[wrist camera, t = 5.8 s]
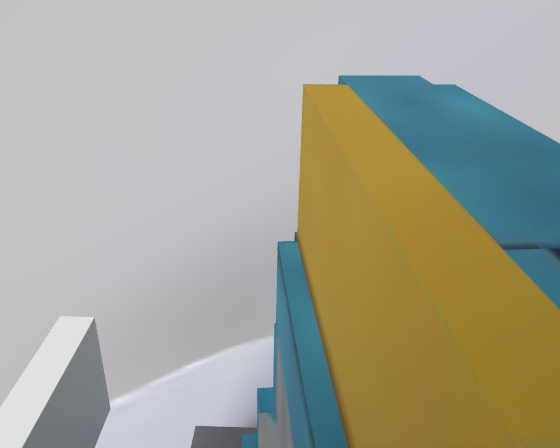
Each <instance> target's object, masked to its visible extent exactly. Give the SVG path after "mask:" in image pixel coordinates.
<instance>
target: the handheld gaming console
mask: <svg viewBox="0 0 560 448" xmlns="http://www.w3.org/2000/svg"><path fill="white" fill-rule="evenodd" d="M276 309H277V310H276V323H275V324H274V325H275V326H274V330H275V331H274V377H273V388H257V434H244V435H242V448H560V144H559V143H558V142H556V141H554V140H552V139H550V138H549V137H547V136H545V135H543V134H542V133H540V132H538V131H536V130H535V129H533V128H531V127H529V126H527V125H526V124H524V123H522V122H520V121H518V120H517V119H515V118H513V117H511V116H510V115H508V114H506V113H504V112H502V111H501V110H499V109H497V108H495V107H493V106H491V105H490V104H488V103H486V102H485V101H483V100H481V99H479V98H477V97H476V96H474V95H472V94H470V93H468V92H467V91H465V90H463V89H461V88H460V87H458V86H456V85H433V84H431V83H430V82H428V81H427V80H425V79H423V78H422V77H420V76H339V81H338V85H324V84H319V85H318V84H317V85H315V84H314V85H312V84H308V85H307V84H306V85H303V105H302V130H301V156H300V180H299V207H298V231H297V232H295V241H291V242H290V241H287V242H286V241H285V242H278V258H277V306H276Z"/></svg>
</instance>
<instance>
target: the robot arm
mask: <svg viewBox="0 0 560 448" xmlns="http://www.w3.org/2000/svg"><path fill="white" fill-rule="evenodd" d="M109 411H110V403H109V398H108V392H107V386H106V381H105V375H104V369H103V363H102V358H101V352H100V346H99V341H98V335H97V329H96V323H95V318H93V317H67V316H60V317H59V319H58V320H57V322H56V323H55V325H54V326H53V328H52V329H51V331H50V332H49V334H48V335H47V337H46V338H45V340H44V342H43V343H42V345H41V346H40V348H39V349H38V351H37V352H36V354H35V355H34V357H33V358H32V360H31V361H30V363H29V365H28V366H27V368H26V369H25V371H24V372H23V374H22V375H21V377H20V378H19V380H18V381H17V383H16V385H15V386H14V387H13V389H12V390H11V392H10V393H9V395H8V397H7V398H6V400H5V401H4V403H3V404H2V406H1V407H0V448H94V447H95V445H96V442H97V440H98V438H99V435H100V433H101V430H102V428H103V425H104V423H105V420H106V418H107V416H108V413H109Z"/></svg>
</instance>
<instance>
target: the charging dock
mask: <svg viewBox="0 0 560 448" xmlns="http://www.w3.org/2000/svg"><path fill="white" fill-rule="evenodd" d="M244 434H257V428H241V427H212V426H195V431H194V436H193V440H192V445H191V448H242V435H244Z"/></svg>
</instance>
